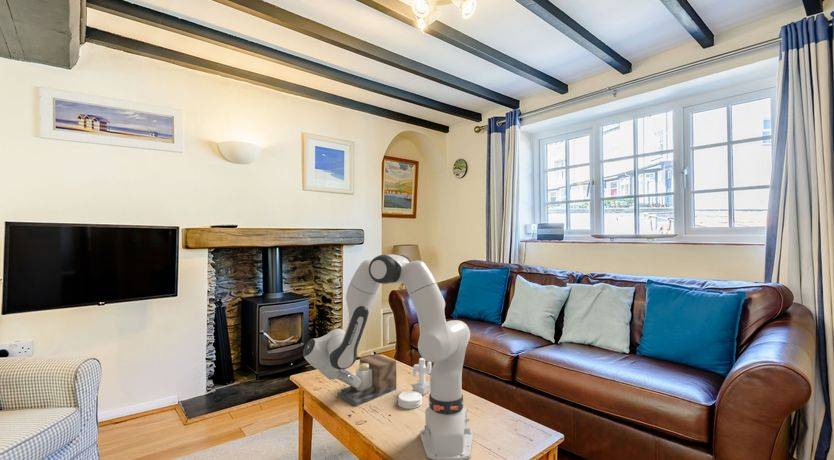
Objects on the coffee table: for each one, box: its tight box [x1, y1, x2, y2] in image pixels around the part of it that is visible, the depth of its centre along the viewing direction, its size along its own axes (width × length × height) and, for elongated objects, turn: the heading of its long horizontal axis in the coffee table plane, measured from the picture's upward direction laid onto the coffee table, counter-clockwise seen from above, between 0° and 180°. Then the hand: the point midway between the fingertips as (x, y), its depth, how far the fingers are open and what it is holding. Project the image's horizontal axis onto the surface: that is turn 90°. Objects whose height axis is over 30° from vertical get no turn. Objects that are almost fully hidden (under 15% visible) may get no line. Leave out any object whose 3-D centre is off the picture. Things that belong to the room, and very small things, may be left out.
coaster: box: [397, 390, 423, 410], centre depth 157 cm, size 10×10×4 cm
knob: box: [355, 363, 372, 391], centre depth 166 cm, size 5×5×11 cm
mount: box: [336, 353, 397, 407], centre depth 168 cm, size 22×14×13 cm, turn 136°
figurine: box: [410, 357, 432, 396], centre depth 168 cm, size 7×9×15 cm
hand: (352, 384), depth 162 cm, fingers closed
